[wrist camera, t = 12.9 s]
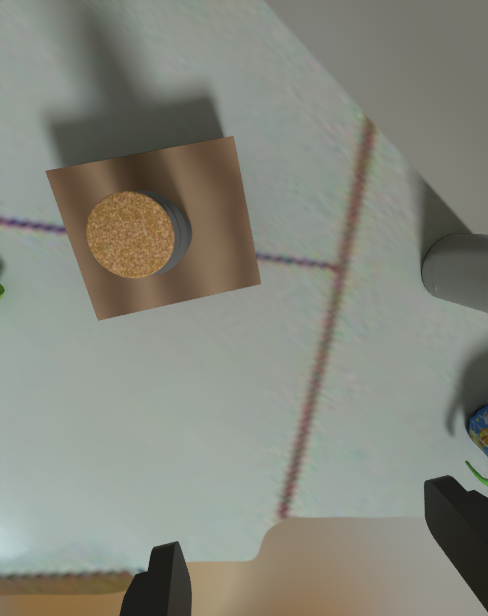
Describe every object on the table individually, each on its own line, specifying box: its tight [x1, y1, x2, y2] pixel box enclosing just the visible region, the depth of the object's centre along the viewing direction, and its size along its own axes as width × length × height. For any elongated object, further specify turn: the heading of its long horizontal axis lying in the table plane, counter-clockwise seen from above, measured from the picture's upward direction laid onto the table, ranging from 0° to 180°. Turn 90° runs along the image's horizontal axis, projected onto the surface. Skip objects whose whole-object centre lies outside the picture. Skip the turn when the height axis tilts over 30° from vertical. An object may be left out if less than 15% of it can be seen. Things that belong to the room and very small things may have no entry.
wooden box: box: [46, 136, 261, 320], centre depth 34 cm, size 18×15×6 cm
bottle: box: [86, 190, 192, 278], centre depth 24 cm, size 6×6×15 cm
